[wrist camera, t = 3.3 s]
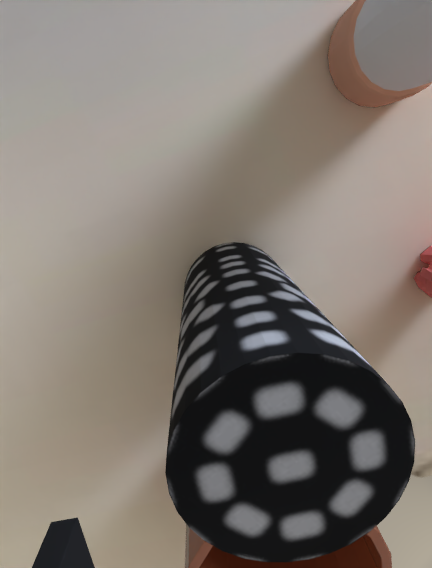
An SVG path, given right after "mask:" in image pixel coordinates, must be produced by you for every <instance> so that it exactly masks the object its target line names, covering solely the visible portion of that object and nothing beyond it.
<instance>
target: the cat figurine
mask: <svg viewBox="0 0 432 568" xmlns="http://www.w3.org/2000/svg"><path fill="white" fill-rule="evenodd" d="M420 257H421V261H422V262H424V263H427V264H429V266H428V268H424V267H422V269H421V272H417V274H416V275H415V277H414V280H415V281H416V283H417V285H418V287H419V288H420V289H421V290H422V291H424V292H425V293H426V294H427V295H429V296H430V297H432V246H430V247H429V248H428V249H426V250H425V251H424V252H423V253H421V254H420Z"/></svg>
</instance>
